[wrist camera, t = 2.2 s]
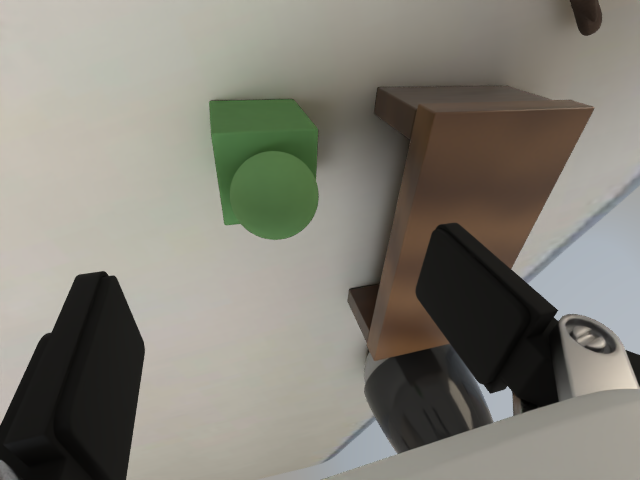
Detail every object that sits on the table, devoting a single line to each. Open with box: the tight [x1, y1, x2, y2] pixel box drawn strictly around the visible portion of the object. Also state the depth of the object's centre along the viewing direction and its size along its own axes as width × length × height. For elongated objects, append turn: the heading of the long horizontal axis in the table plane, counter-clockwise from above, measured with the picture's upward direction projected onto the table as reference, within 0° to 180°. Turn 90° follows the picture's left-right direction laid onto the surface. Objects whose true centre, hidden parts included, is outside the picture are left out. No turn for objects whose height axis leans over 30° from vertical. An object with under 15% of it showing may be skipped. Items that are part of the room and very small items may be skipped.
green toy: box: [209, 99, 319, 240], centre depth 15 cm, size 4×4×8 cm
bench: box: [348, 86, 594, 361], centre depth 23 cm, size 18×9×6 cm, turn 177°
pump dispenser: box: [364, 344, 493, 454], centre depth 30 cm, size 10×10×15 cm
